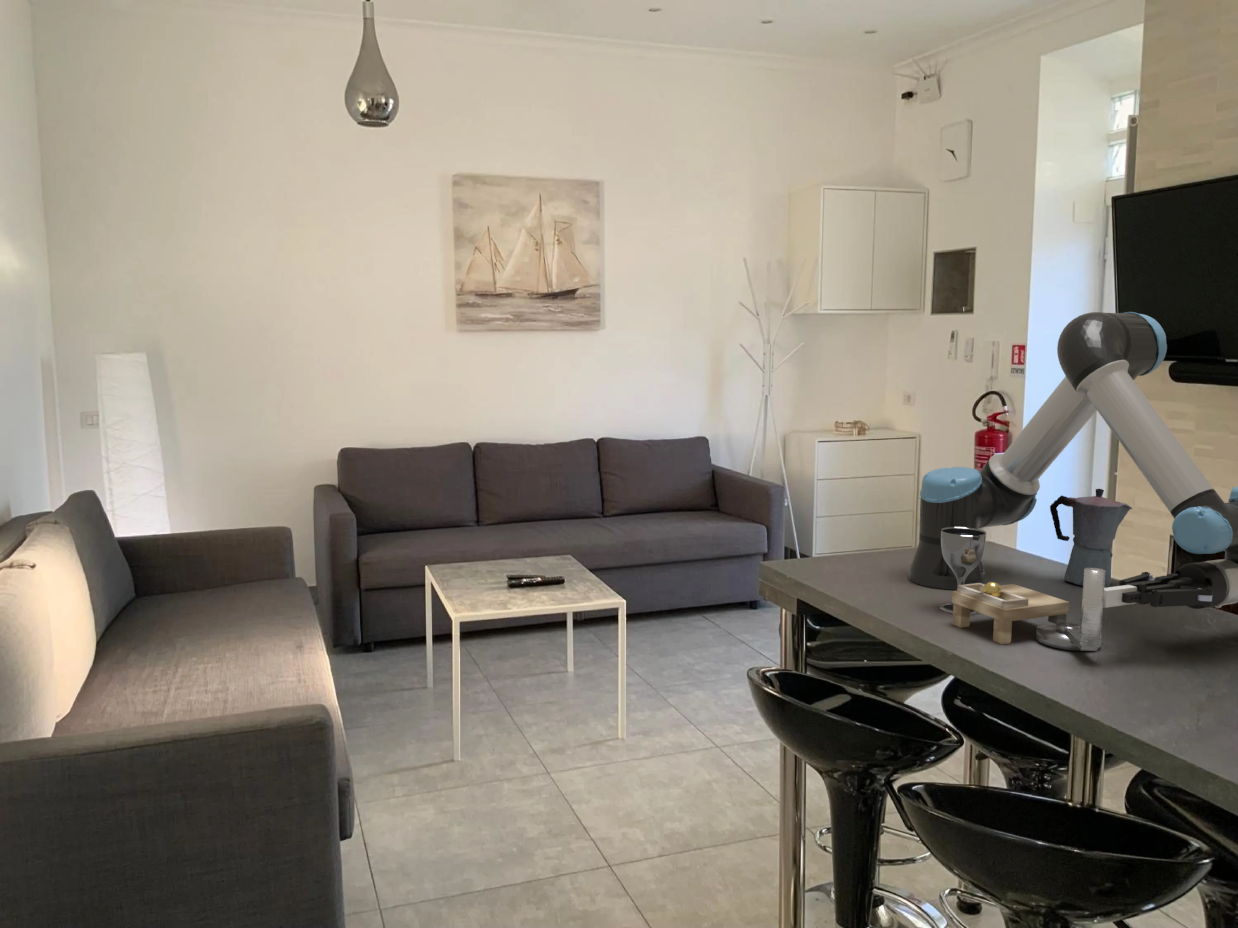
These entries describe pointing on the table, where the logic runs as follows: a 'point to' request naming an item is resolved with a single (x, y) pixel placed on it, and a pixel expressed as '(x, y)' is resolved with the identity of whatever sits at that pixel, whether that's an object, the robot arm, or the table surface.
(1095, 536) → the moka pot
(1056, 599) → the stand
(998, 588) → the ball
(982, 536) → the wine glass
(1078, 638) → the silver l-shaped piece
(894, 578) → the table surface
